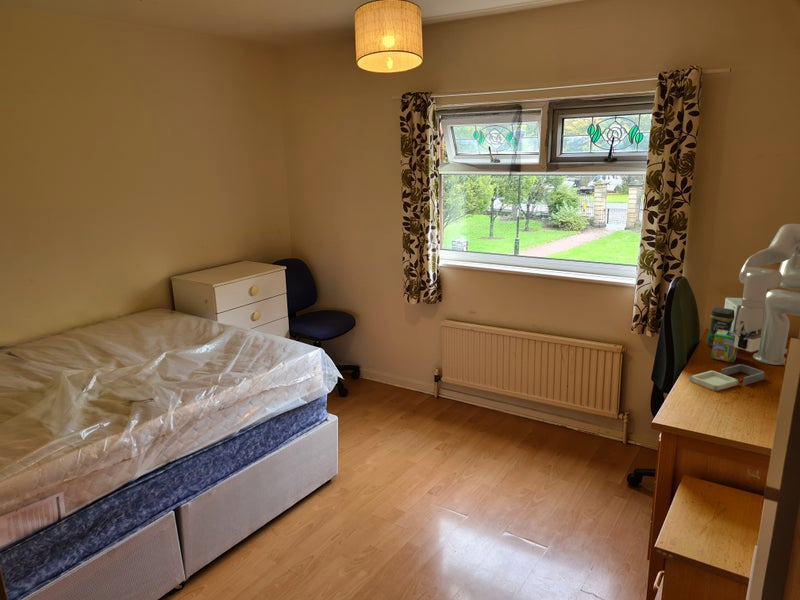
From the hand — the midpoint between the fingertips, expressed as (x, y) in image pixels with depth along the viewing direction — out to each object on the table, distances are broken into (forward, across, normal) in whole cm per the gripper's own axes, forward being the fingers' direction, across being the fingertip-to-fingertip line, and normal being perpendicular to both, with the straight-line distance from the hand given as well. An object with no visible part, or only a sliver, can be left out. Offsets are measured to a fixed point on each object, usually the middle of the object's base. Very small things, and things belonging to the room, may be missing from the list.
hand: (746, 346), depth 217 cm
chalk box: (+14, -14, -17) cm, 26 cm away
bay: (+13, +1, 0) cm, 13 cm away
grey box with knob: (+1, 0, 0) cm, 1 cm away
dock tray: (+13, +15, -2) cm, 20 cm away
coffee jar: (+15, -26, -28) cm, 41 cm away
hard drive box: (+15, -39, -29) cm, 51 cm away
